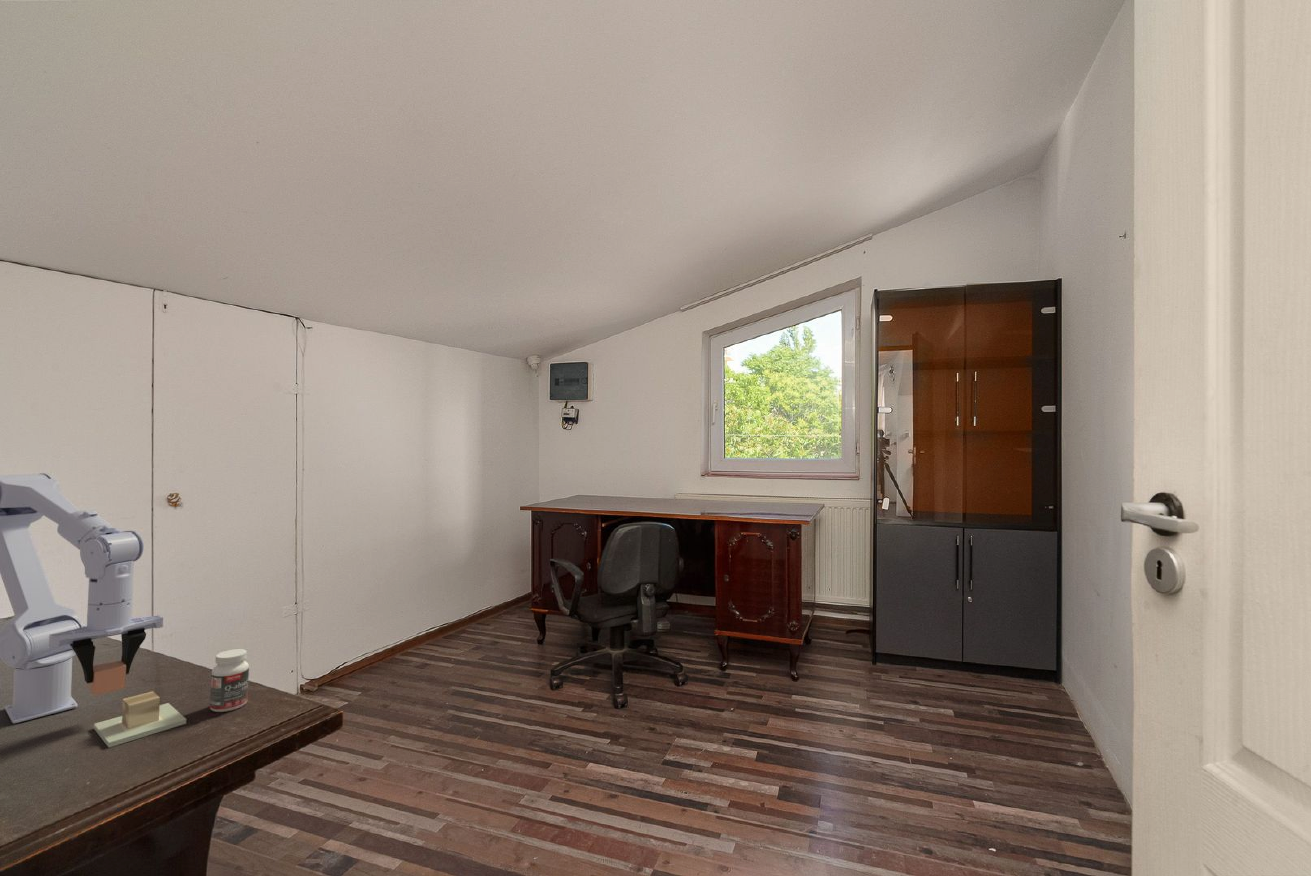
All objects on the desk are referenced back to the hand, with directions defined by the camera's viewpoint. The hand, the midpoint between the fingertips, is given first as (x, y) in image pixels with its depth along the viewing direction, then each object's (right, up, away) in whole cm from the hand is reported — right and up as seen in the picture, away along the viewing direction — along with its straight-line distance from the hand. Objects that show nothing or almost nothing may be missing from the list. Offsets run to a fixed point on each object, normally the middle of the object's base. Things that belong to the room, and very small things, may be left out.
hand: (107, 677), depth 100 cm
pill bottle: (+17, -8, +6) cm, 20 cm away
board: (+8, -8, -2) cm, 11 cm away
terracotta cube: (0, -2, 0) cm, 2 cm away
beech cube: (+8, -7, -2) cm, 11 cm away
